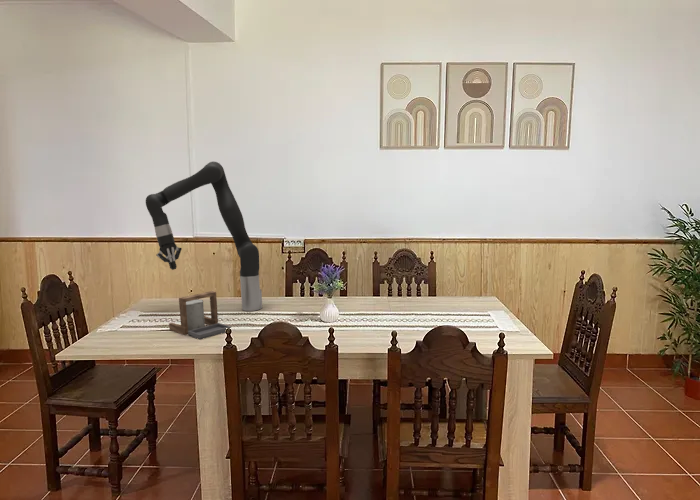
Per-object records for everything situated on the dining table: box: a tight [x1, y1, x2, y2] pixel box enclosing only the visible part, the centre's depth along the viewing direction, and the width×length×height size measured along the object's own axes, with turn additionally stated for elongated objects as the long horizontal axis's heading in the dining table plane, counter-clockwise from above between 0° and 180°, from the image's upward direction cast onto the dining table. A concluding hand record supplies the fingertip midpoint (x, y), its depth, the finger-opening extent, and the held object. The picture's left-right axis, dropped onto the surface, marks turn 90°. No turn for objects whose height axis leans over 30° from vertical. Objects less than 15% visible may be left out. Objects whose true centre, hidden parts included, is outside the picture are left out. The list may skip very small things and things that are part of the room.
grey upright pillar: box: [186, 299, 206, 331], centre depth 280 cm, size 10×10×12 cm
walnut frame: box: [168, 290, 219, 336], centre depth 280 cm, size 17×13×16 cm
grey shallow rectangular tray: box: [187, 322, 232, 340], centre depth 273 cm, size 16×9×2 cm, turn 136°
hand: (174, 269), depth 303 cm, fingers closed
